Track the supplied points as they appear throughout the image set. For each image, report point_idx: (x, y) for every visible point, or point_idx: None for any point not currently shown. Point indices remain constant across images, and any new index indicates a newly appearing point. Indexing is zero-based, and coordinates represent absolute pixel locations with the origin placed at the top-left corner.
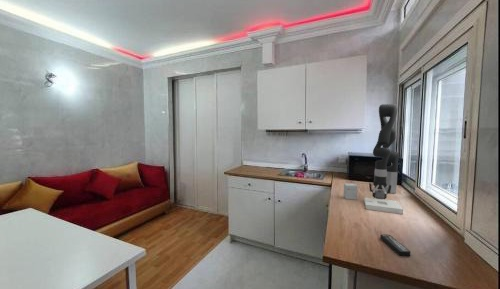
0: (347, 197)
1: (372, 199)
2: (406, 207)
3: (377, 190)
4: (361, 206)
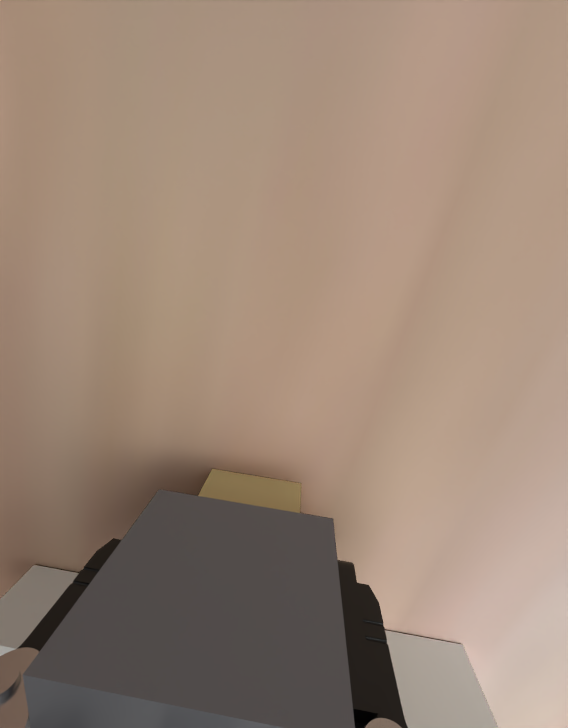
0: None
1: None
2: (560, 692)
3: (120, 712)
4: None
